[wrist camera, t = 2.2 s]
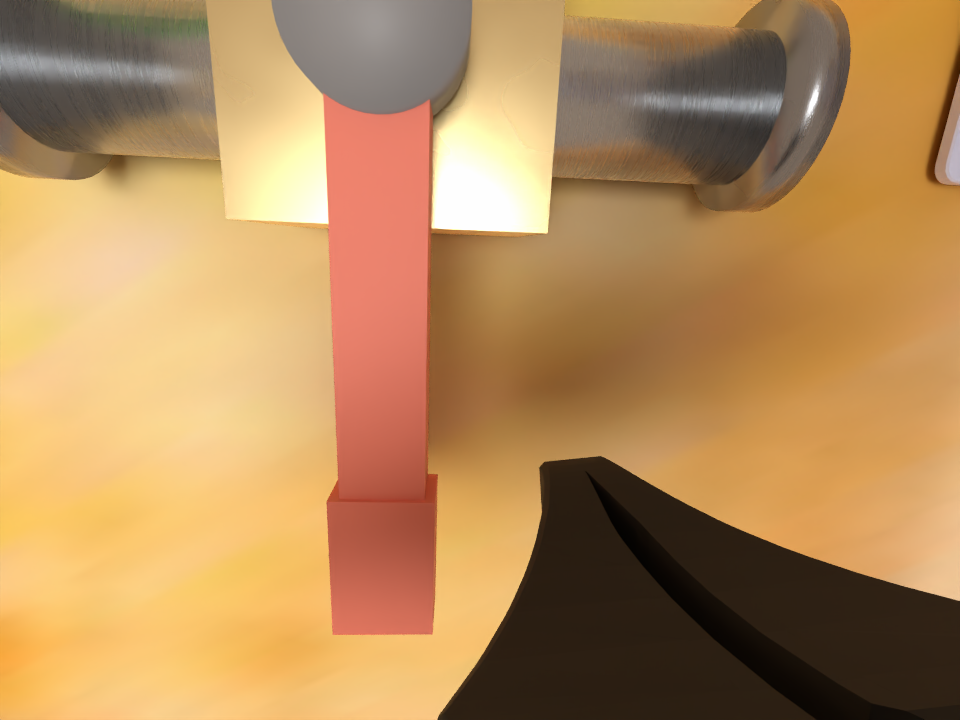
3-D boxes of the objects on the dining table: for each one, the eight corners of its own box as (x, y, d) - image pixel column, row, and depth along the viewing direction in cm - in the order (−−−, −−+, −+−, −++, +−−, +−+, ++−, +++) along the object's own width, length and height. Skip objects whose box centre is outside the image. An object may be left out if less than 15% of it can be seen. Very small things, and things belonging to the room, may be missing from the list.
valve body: (737, 14, 12) (909, -127, 8) (701, 245, 14) (827, 245, 9) (66, -34, 11) (-209, -228, 7) (105, 218, 13) (-98, 204, 8)
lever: (295, -70, 7) (262, -134, 6) (473, -55, 7) (476, -115, 6) (328, 593, 10) (310, 640, 9) (452, 593, 10) (452, 640, 9)
